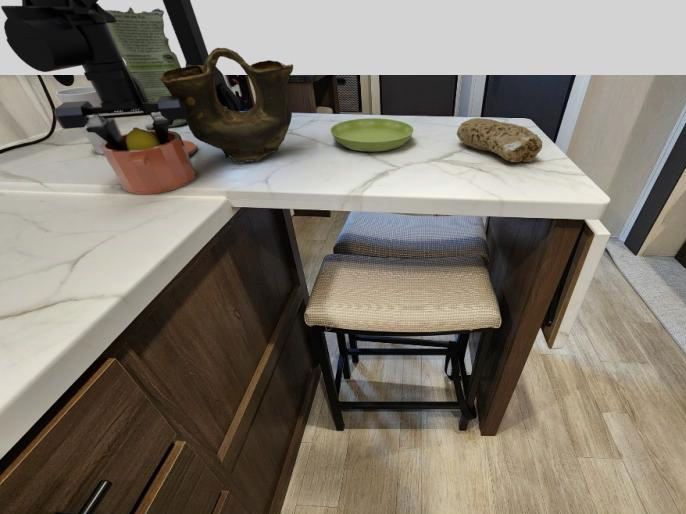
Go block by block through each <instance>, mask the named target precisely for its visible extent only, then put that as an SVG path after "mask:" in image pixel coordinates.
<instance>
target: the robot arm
mask: <svg viewBox="0 0 686 514" xmlns="http://www.w3.org/2000/svg"><path fill="white" fill-rule="evenodd" d="M98 1H99V0H21V5H1V6H0V8H1V10H2V11H3V13H4V15H5V17H6V19H5V20H4V25H3V30H4V34H5V36H6V42H7V44H8V46H9V47H10V48H11V50H12V51H13V52H14V54H15V55H16V56H17V57H18V58H19V59H20V60H21V61H22V62H23V63H24V64H26V65H27V66H29V67H30V68H32V69H34V70H36V71H38V72H41V73H50V72H54V71H60V70H65V69H69V68H76V67H82V68H83V70H84V72H83V75H84V76H85V78H86V80H87V81H90V83H91V86H92V87H94V89H95V91H96V93H97V95H98V96H99V98H100V100H101V103H100V104H101V106H96V107H93V106H92V105H91V104H90V103H89V102H88V101H79V102H64V103H61V104H60V105H59V106H57V107H55V108H54V110H53V111H54V112H53V114H54V117H55V119H56V121H57V122H58V124H59V125H60V127H61V129H64V130H68V129H69V130H71V129H81V128H82V127H85V125H86V126H87V128H86V130H87V132H89V133H91V132H94V133H96V134H97V135H98V136H100V137H101V138H102V139H104V140H105V141H106V142H108V143H109V144H110V145H112V146H113V147H114V148H115V149H116V150H117V151H128V149H127V146H126V143H125V141H124V140H123V138H122V137H121V135H120V133H119V132H118V130H117V127H116V125H115V122H114V120H113V119H108V118H115V119H118V118H131V117H144V116H150V115H152V117H154V119H155V120H154V121H153V122H152V123H151V124H152V125H153V128H154V130H155V133H156V135H157V138H158V140H159V143H160V145H163V144H166V143H169V139H168V131H169V127H171V126H170V125H172V124H173V121H174V120H178V119H186V118H189V114H190V109H189V106H188V103H187V101H186V99H185V98H184V97H183V96H181V95H171V96H160V97H159V99H158V100H157V102H153V103H146V102H149V101H148V98H147V96H146V93H145V90H144V88H143V85H142V83H141V82H140V81H139V80H137V79H136V78H134V77H133V76H132V75H131V72H130V70H129V69H128V67H127V66H126V62H125V60H124V59H123V57H122V56H121V53H120V51H119V49H118V47H117V45H116V43H115V40H114V38H113V36H112V34H111V32H110V30H109V27H108V25H107V23H115V22H116V19H115V17H114V16H112V15H111V14H110V13H108V12H107V11H105V10H106V9H104V8H102V6H101V5H100V4H99V3H97V2H98ZM162 3H163V6H164V8H165V11H166V13H167V16H168V18H169V21H170V24H171V27H172V29H173V32H174V34H175V37H176V39H177V43H178V45H179V48H180V50H181V52H182V55H183V58H184V62H185V66H184V67H186V66H187V65H193V66H195V65H202V66H204V63H205V60H206V59H207V57H208V56H209V51H208V49H207V46H206V43H205V39H204V37H203V33H202V31H201V28H200V25H199V22H198V19H197V16H196V13H195V11H194V7H193V5H192V2H191V0H162ZM214 82H215V90H216V95H217V98H218V100H219V102H220V103H221V105H222V106H223V107H225V108H227V109H229V110H232V111H238V112H241V109H242V107H241V100H240V98H239V97H238V96H237V95H236V94H235V93H234V91H233V90H232V89H231V88H230V87H229V86H228V84H227V81H226V79H225V76H224V74H223V73H222V71H221V70H220V69H219V68H218V67H217V65H216V66H215V70H214ZM152 117H151V118H152Z"/></svg>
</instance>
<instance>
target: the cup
mask: <svg viewBox="0 0 686 514" xmlns="http://www.w3.org/2000/svg"><path fill="white" fill-rule="evenodd" d="M55 95H56V96H57V98H58V99H59V100H60V102H61V104H63V103H64V102H79V101H88V102H89V103H90V104H91V105H92V106H93V107H96V106H101V104H100V103H101V100H100V98H99V96H98V95H97V93H96V91H95V89H94V87H93V86H81V87H79V86H78V87H70V88H65V89H60V90H57V91H56V92H55ZM108 119H113V120H114V122H115V125H116V127H117V130H118V132H119V133H120V135H123V134H122V132H121V130H120V128H119V125H118V123H117V121H116V118H108ZM86 128H87V126H86V125H85V127H82V128H80V130H81V131H82V133H83V135H85V137H86V139H87V140H88V141H89V143H90V144H91V146H92V148H93V150H94V151H95V153H96V154H98V155H104V154H103V152H102V150H101V149H100V147H99V146H100V145H101V144H102V143H103V142H104V141H105V140H104V139H102V138H101V137H100V136H98V135H97V134H96V133H94V132H91V133H89V132H87V130H86Z"/></svg>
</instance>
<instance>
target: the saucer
mask: <svg viewBox="0 0 686 514" xmlns="http://www.w3.org/2000/svg"><path fill="white" fill-rule="evenodd" d="M414 131H415V129H414V127H413V126H412V125H410V124H409V123H407V122H404V121H400V120H396V119H389V118H377V117H376V118H375V117H374V118H373V117H372V118H370V117H369V118H356V119H349V120H345V121H341V122H338V123H335V124H334V125H332V126H331V128H330V133H331V135H332V136H333V138H334V139H335V140H336V141H337V142H338V143H339V144H340V145H341V146H343V147H345V148H347V149H350V150H354V151H357V152H369V153H371V152H373V153H374V152H375V153H376V152H378V153H379V152H386V151H392V150H395V149H398V148H400V147H402V146H403V145H404V144H406V143H407V142H408V140H410V138H411V136H412V135H413V133H414Z"/></svg>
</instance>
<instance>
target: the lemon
mask: <svg viewBox="0 0 686 514" xmlns="http://www.w3.org/2000/svg"><path fill="white" fill-rule="evenodd" d="M127 134H128V135H127V137H126V146H127V149H128V151H132V150H141V149H147V148H152V147H157V146H160V143H159V140H158V139H157V138H156V137H155V136H154V135H153V134H152V133H150V132H148V131H147V129H142V128H139V127H137V126H136V127H133V128H132V130H130V131H129V132H128V133H127Z"/></svg>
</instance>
